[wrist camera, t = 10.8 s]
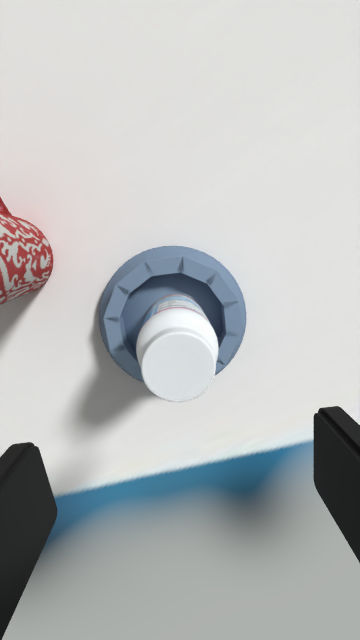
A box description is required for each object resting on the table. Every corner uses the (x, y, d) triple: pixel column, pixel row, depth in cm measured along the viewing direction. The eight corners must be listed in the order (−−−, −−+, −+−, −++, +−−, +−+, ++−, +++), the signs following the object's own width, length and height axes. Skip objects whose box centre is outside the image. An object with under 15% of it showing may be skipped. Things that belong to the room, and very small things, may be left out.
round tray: (238, 237, 26) (246, 234, 23) (247, 374, 30) (255, 387, 27) (88, 256, 26) (78, 256, 23) (116, 390, 30) (110, 405, 27)
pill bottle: (174, 361, 28) (175, 430, 17) (134, 320, 27) (106, 366, 16) (218, 324, 27) (248, 372, 16) (178, 280, 26) (181, 299, 15)
